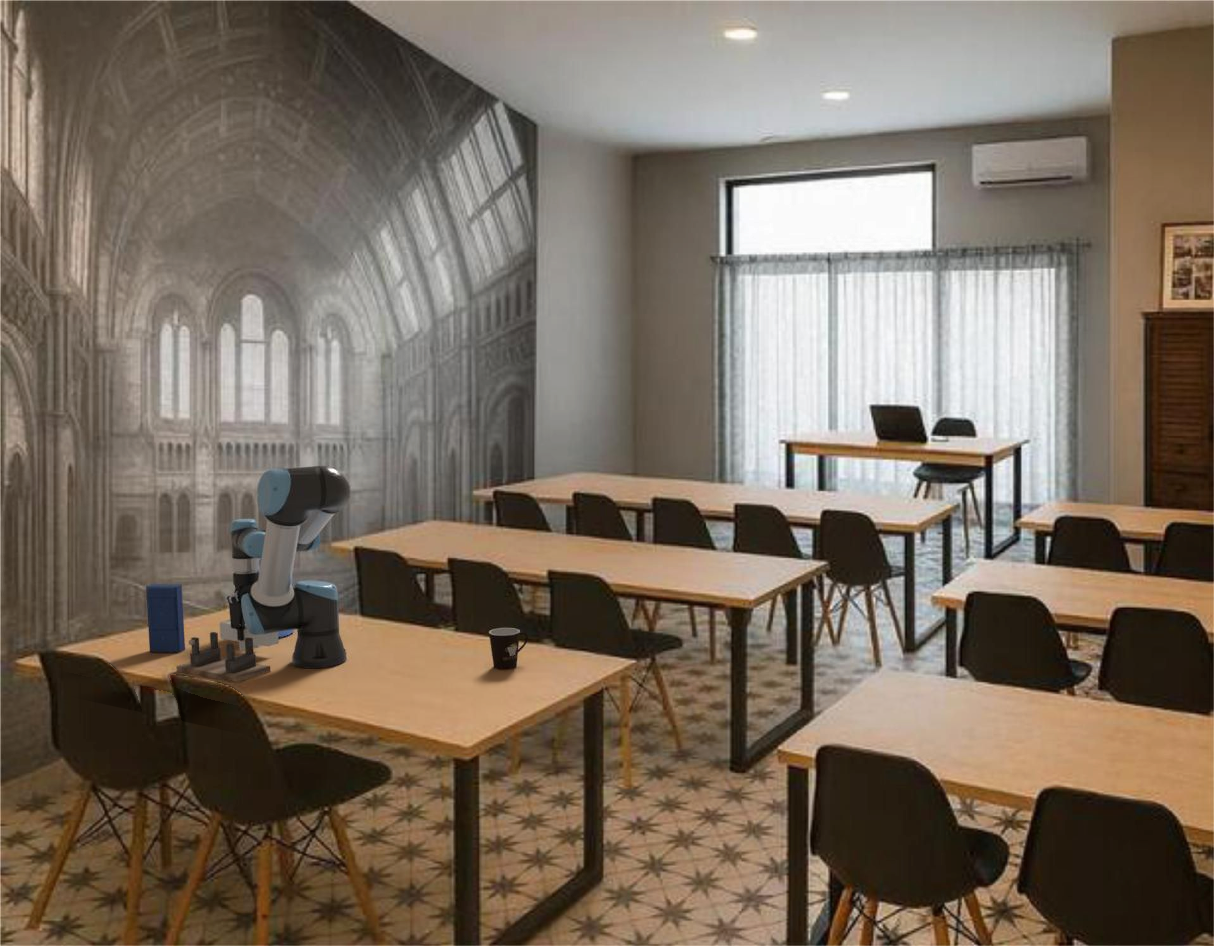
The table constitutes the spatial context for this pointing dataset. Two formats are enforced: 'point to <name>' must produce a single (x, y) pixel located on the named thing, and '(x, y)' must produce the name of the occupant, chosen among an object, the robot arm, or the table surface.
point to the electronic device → (165, 617)
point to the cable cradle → (222, 661)
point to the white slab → (261, 639)
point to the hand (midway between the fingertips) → (249, 648)
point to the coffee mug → (505, 647)
